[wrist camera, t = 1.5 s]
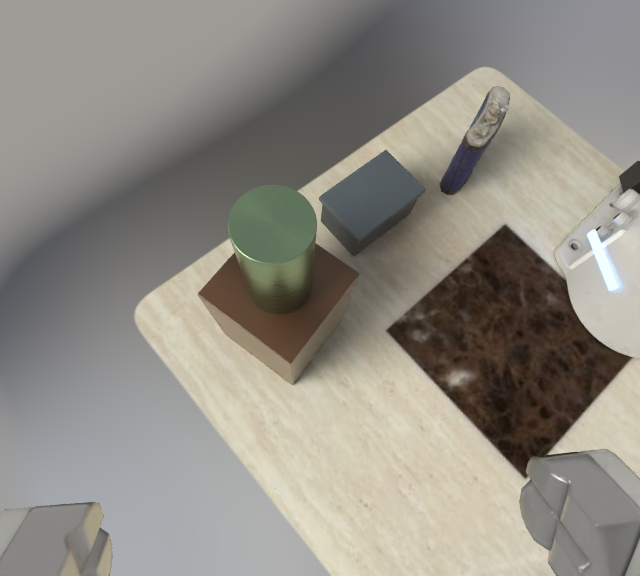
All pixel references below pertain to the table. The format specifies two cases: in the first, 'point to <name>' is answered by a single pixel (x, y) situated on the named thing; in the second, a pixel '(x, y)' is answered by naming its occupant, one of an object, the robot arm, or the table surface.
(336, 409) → the table surface
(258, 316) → the block
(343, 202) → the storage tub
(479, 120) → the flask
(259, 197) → the tin
